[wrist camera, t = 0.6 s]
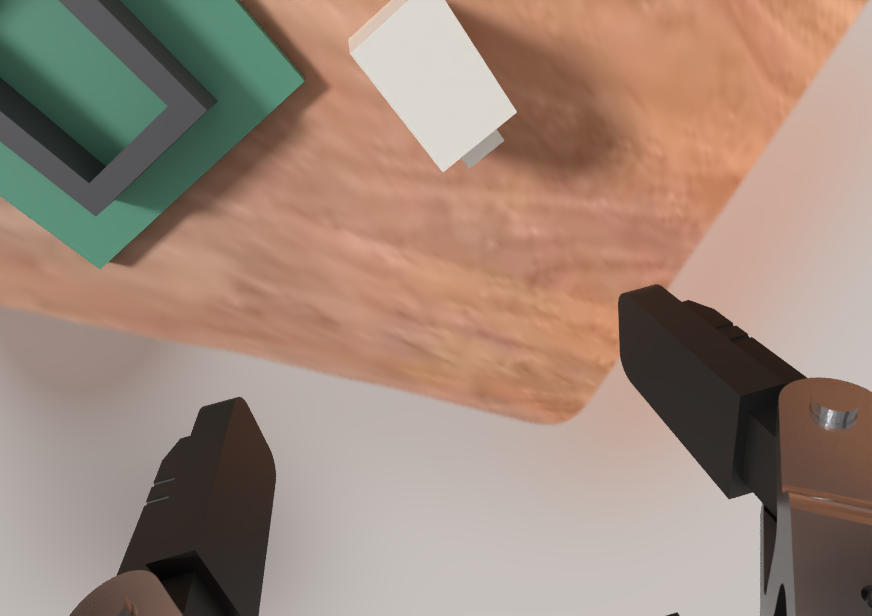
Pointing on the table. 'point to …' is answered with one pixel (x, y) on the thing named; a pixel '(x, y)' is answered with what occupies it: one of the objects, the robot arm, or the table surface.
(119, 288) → the table surface
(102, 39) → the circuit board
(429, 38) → the plug
